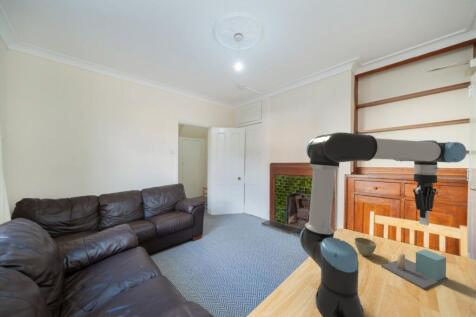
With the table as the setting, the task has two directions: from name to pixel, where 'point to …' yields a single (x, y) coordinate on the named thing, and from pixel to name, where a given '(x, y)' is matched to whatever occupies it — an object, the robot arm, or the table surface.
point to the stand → (410, 272)
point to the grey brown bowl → (365, 246)
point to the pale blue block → (431, 264)
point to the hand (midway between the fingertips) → (424, 224)
